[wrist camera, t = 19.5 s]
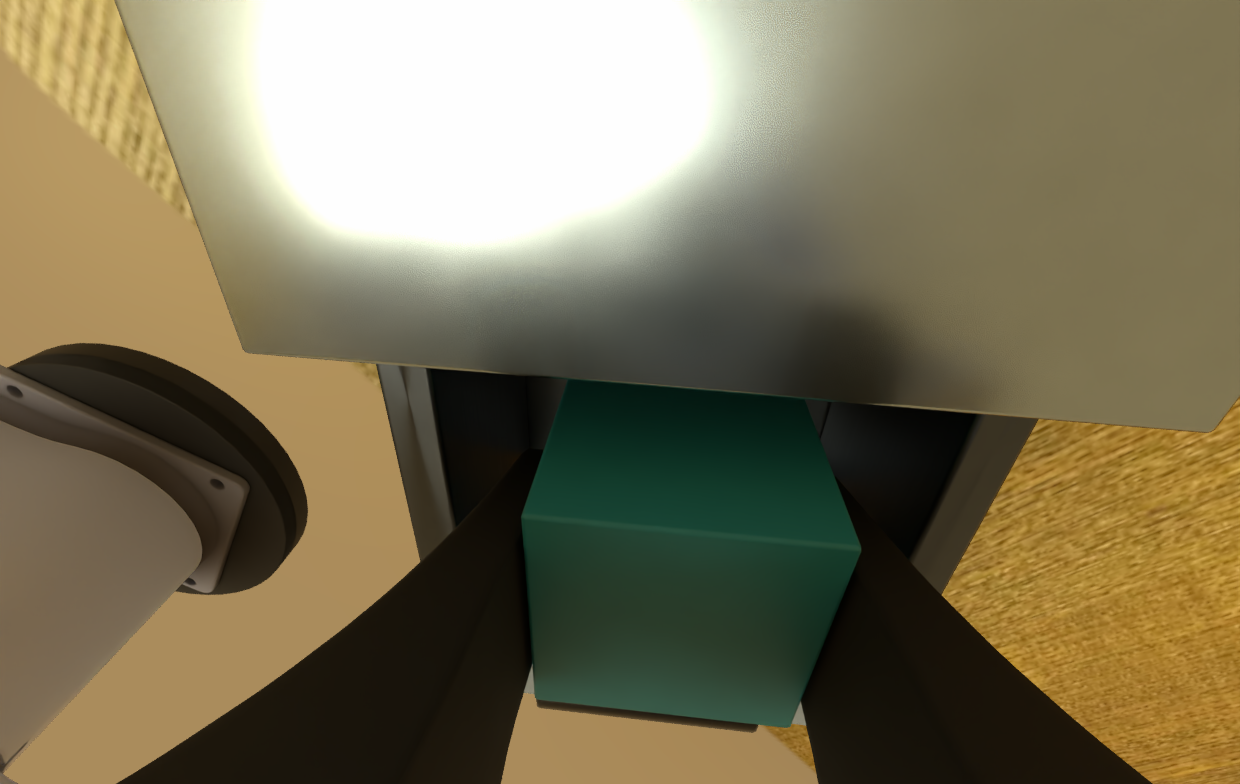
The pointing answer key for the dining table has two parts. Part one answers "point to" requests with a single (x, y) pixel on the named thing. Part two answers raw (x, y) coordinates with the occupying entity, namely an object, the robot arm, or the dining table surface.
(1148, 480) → the dining table surface
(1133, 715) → the dining table surface
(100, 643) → the robot arm
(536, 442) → the grey drawer
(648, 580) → the teal green cube
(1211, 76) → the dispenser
